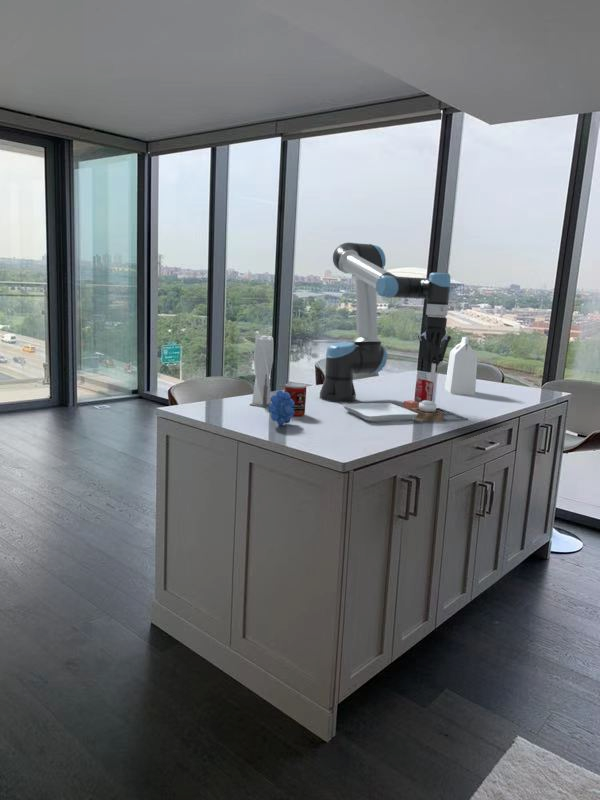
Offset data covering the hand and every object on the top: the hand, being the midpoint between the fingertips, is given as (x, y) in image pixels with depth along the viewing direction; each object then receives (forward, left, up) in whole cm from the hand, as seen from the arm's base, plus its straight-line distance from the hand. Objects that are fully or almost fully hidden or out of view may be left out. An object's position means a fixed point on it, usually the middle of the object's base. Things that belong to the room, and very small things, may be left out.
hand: (430, 380), depth 226 cm
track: (+10, +5, -14) cm, 18 cm away
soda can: (+10, +19, -15) cm, 26 cm away
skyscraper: (-55, +31, -15) cm, 65 cm away
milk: (+49, +49, -15) cm, 71 cm away
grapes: (-58, -3, -15) cm, 60 cm away
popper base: (0, 0, -14) cm, 14 cm away
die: (0, +12, -14) cm, 19 cm away
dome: (0, 0, -11) cm, 11 cm away
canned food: (-48, +13, -15) cm, 52 cm away
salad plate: (-17, +6, -15) cm, 23 cm away
